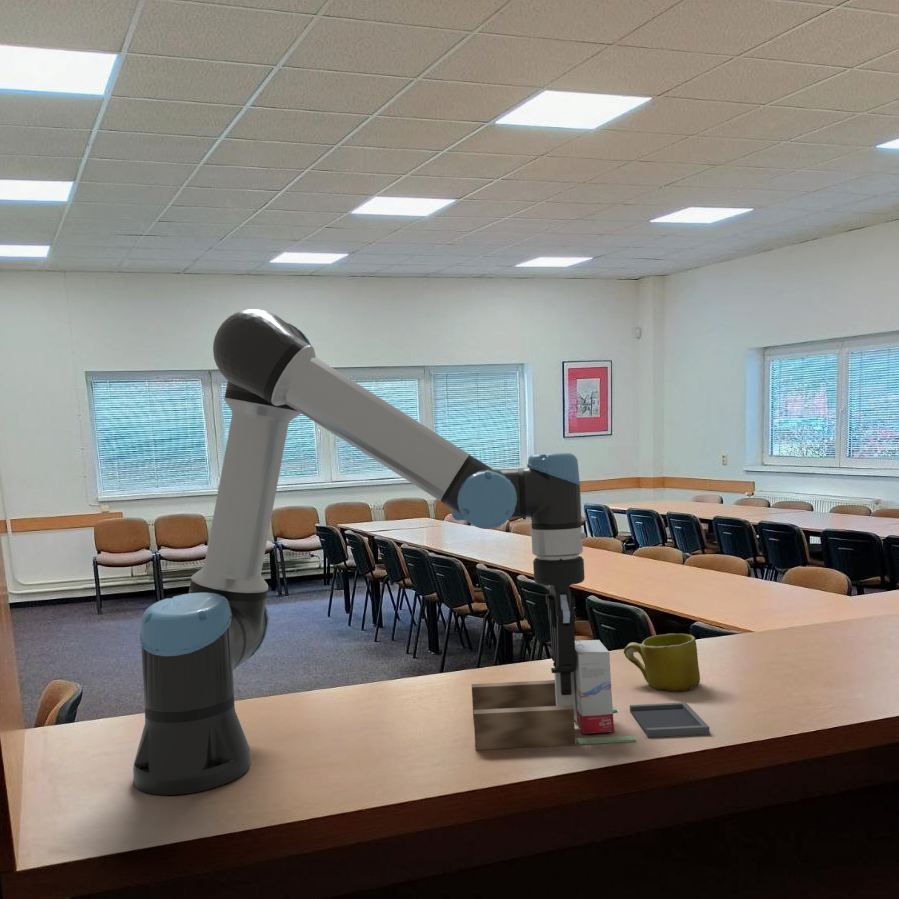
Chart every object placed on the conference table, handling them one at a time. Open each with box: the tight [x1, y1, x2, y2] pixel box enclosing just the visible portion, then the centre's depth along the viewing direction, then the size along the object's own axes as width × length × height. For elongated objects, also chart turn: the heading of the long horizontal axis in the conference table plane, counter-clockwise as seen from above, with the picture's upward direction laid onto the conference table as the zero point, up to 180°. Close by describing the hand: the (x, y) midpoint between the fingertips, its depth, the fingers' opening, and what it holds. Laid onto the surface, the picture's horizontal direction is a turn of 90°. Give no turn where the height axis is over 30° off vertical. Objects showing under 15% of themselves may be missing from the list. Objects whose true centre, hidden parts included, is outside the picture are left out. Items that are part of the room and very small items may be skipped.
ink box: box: [574, 639, 615, 735], centre depth 120 cm, size 9×5×12 cm, turn 0°
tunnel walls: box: [471, 679, 576, 751], centre depth 120 cm, size 14×15×5 cm
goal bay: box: [576, 706, 637, 745], centre depth 120 cm, size 8×15×1 cm, turn 0°
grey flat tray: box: [629, 701, 711, 738], centre depth 120 cm, size 9×12×1 cm
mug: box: [623, 633, 701, 693], centre depth 139 cm, size 12×10×10 cm
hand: (566, 714), depth 120 cm, fingers closed
